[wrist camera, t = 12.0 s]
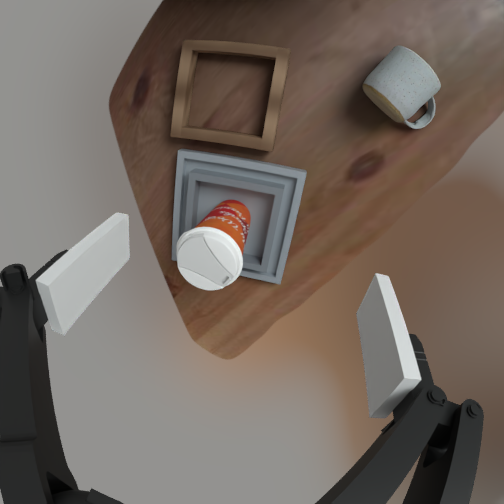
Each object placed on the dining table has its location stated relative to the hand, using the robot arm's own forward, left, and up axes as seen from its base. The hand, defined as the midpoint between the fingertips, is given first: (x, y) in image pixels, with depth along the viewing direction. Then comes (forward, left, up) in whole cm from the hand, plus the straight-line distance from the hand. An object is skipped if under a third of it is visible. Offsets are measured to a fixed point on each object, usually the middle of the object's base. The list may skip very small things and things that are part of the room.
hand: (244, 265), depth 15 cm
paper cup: (+9, -6, -28) cm, 30 cm away
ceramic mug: (-14, +14, -29) cm, 35 cm away
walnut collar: (-8, -8, -29) cm, 31 cm away
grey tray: (+10, -5, -29) cm, 31 cm away
